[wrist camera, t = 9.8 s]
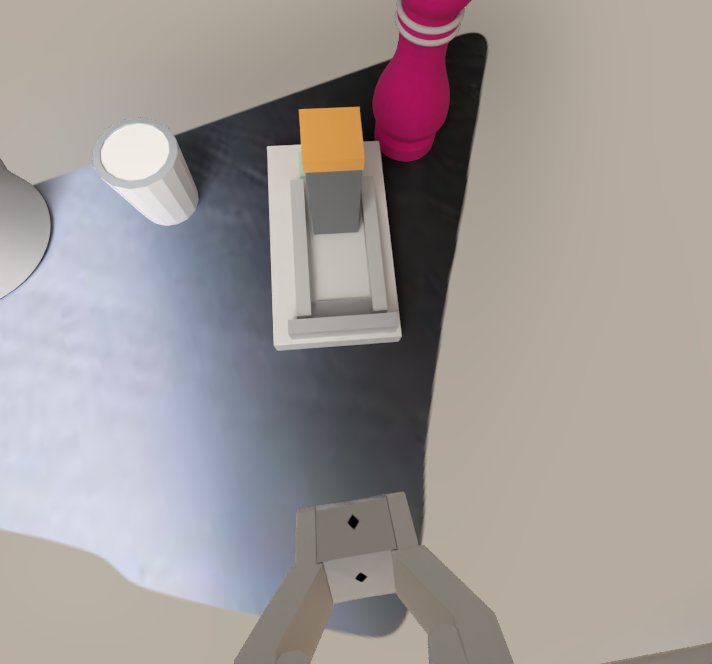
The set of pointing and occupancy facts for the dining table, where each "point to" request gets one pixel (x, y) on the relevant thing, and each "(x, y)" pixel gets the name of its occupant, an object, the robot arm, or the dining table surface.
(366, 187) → the white slider switch base
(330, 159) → the plate
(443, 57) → the pepper mill
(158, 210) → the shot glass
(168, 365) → the dining table surface
